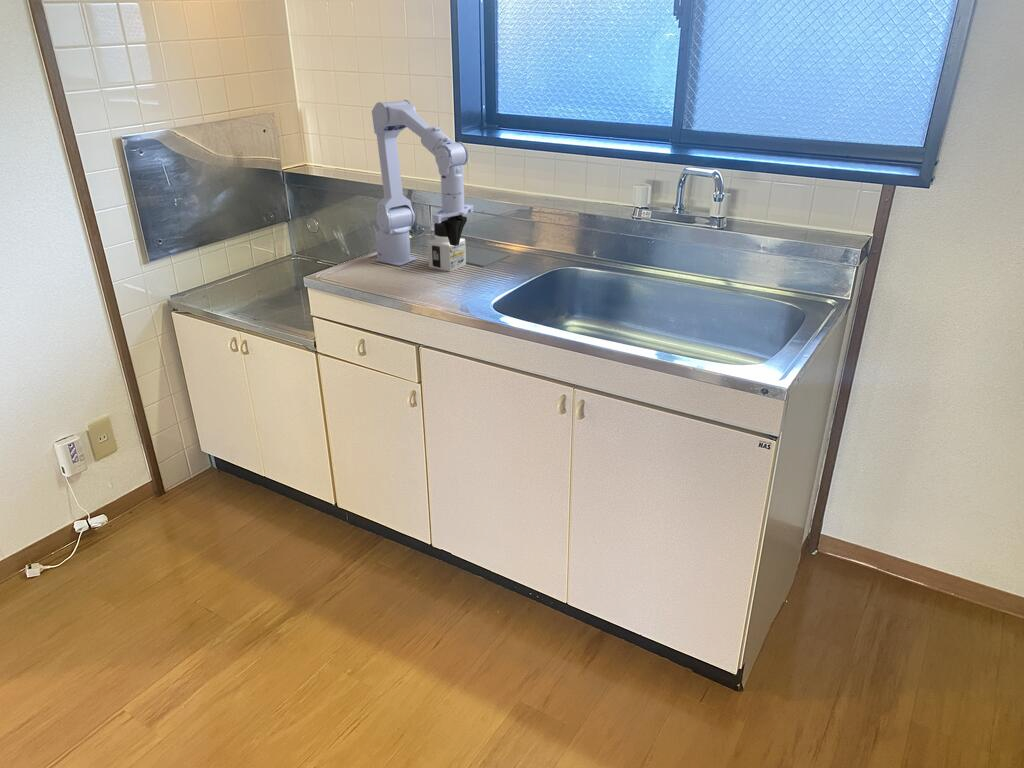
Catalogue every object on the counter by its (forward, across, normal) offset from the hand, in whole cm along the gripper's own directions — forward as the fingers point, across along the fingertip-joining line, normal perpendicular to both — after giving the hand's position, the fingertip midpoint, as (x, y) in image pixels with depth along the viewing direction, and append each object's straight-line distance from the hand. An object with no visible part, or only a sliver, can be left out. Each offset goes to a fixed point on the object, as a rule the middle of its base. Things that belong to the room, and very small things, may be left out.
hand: (454, 244), depth 203 cm
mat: (+10, +22, +11) cm, 26 cm away
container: (+11, +10, +11) cm, 18 cm away
